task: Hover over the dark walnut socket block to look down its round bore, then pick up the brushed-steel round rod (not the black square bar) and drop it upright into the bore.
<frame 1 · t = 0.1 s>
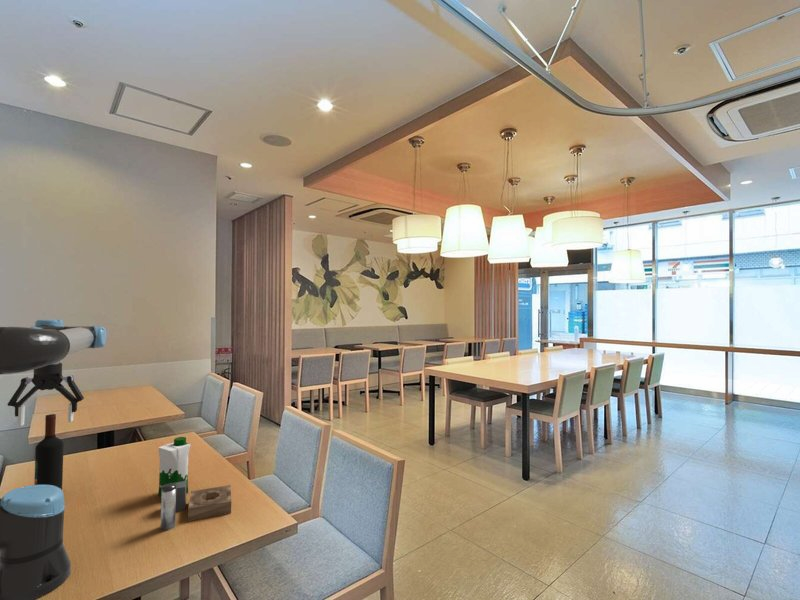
hand: (46, 423, 138), 28 cm above the table, fingers open, 13 cm apart
wine bottle: (48, 499, 141), on the table
milk carton: (173, 494, 146), on the table
rod: (167, 526, 125), on the table
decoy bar: (177, 508, 136), on the table
socket block: (210, 507, 137), on the table
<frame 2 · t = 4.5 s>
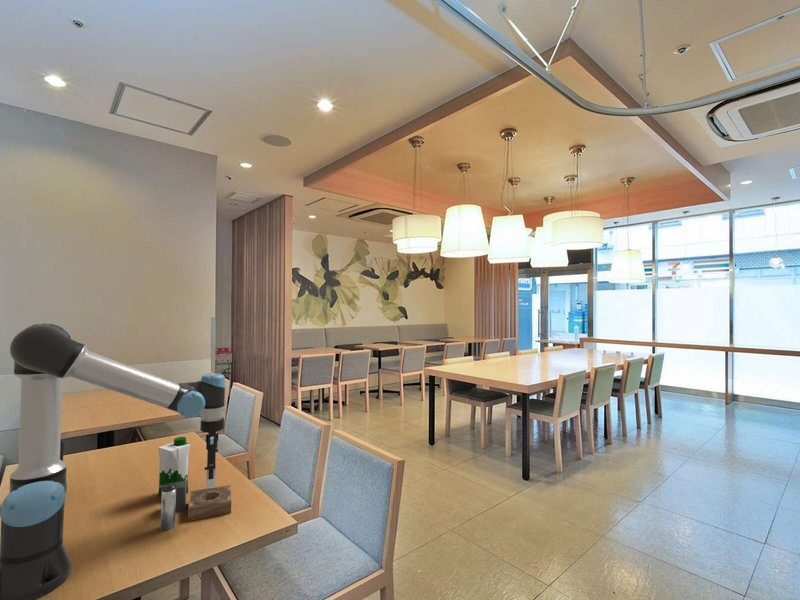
hand: (211, 479, 137), 10 cm above the table, fingers open, 13 cm apart
nothing on the table moved.
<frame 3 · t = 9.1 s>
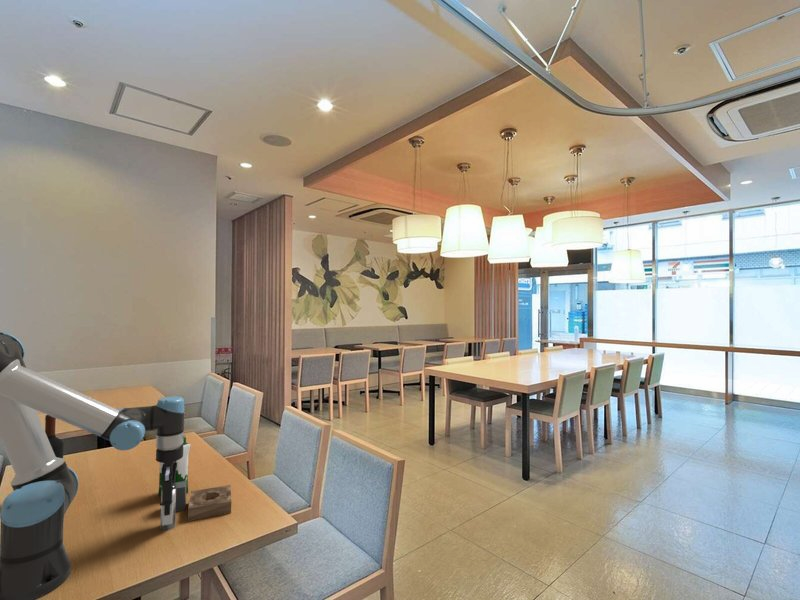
hand: (168, 520, 125), 2 cm above the table, fingers closed on rod, 4 cm apart
rod: (167, 526, 125), on the table, touching gripper
everything else where it was.
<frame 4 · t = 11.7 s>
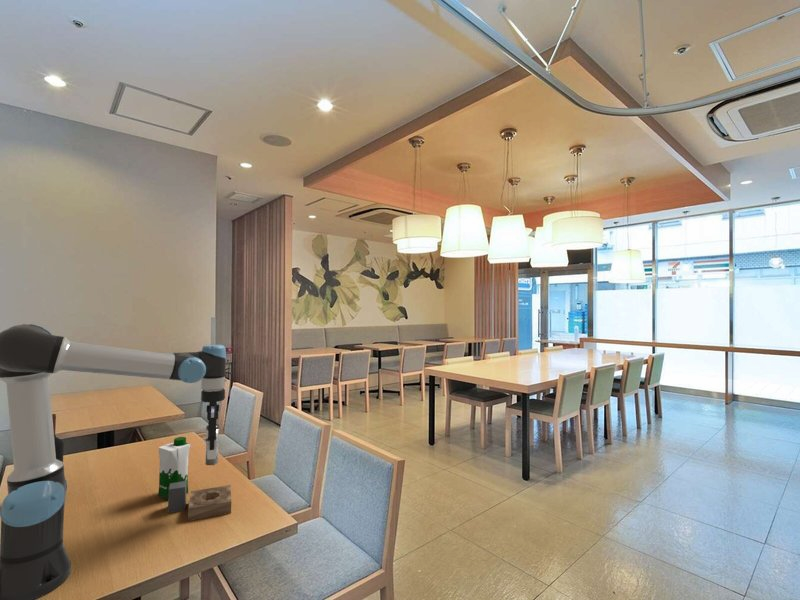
hand: (211, 455, 137), 18 cm above the table, fingers closed on rod, 4 cm apart
rod: (211, 463, 137), point 15 cm above the table, touching gripper
everything else where it was.
when the fingers open (5 cm above the table, at t = 14.6 s): rod drops 2 cm, resting in socket block.
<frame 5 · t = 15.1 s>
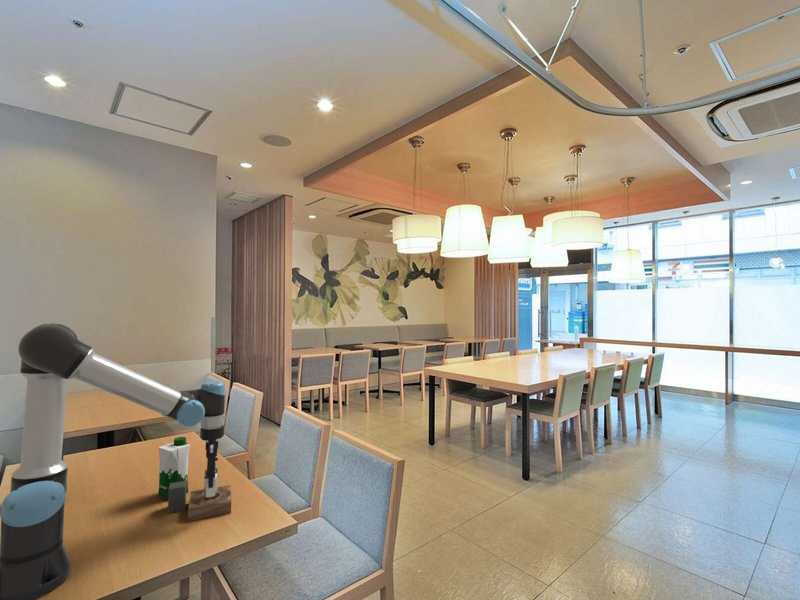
hand: (210, 488, 137), 7 cm above the table, fingers open, 12 cm apart
rod: (210, 507, 137), resting in socket block
everything else where it was.
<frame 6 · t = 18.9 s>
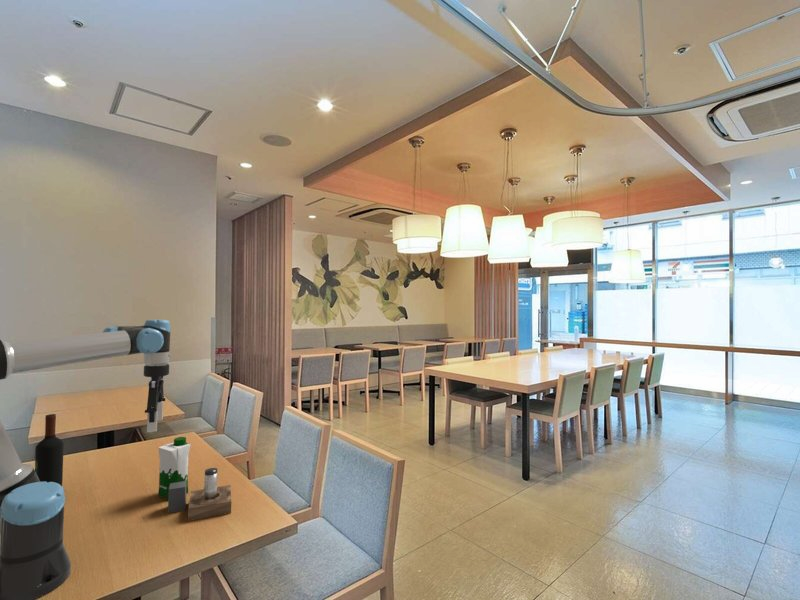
hand: (155, 425, 135), 29 cm above the table, fingers open, 13 cm apart
nothing on the table moved.
at the end: rod 0.1 cm off-centre in the socket block, point 0.0 cm above the socket block's base; rod tilted 0°; the gripper is holding nothing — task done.
